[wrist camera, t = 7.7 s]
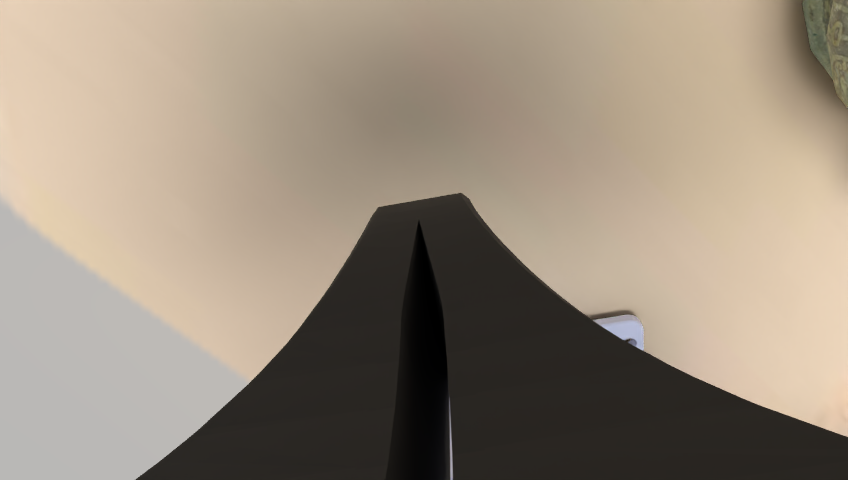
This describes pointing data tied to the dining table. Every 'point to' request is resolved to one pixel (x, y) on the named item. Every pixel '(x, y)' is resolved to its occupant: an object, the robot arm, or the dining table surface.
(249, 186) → the dining table surface
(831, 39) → the vessel
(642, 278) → the dining table surface
